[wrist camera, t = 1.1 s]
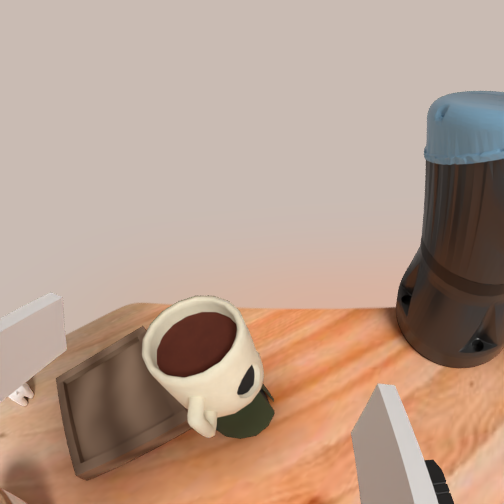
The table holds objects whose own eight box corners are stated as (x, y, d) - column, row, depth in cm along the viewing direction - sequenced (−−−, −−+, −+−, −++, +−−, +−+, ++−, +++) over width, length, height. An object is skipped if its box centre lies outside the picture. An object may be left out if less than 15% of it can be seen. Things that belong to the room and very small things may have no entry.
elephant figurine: (29, 368, 35) (5, 345, 32) (46, 392, 31) (19, 369, 28) (8, 396, 31) (-17, 374, 28) (23, 423, 27) (-7, 402, 24)
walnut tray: (149, 334, 37) (142, 325, 36) (197, 424, 26) (190, 418, 25) (64, 385, 32) (56, 378, 31) (86, 480, 21) (76, 475, 20)
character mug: (283, 461, 21) (243, 411, 13) (204, 463, 22) (123, 411, 14) (277, 360, 30) (245, 268, 22) (211, 368, 31) (158, 283, 23)
